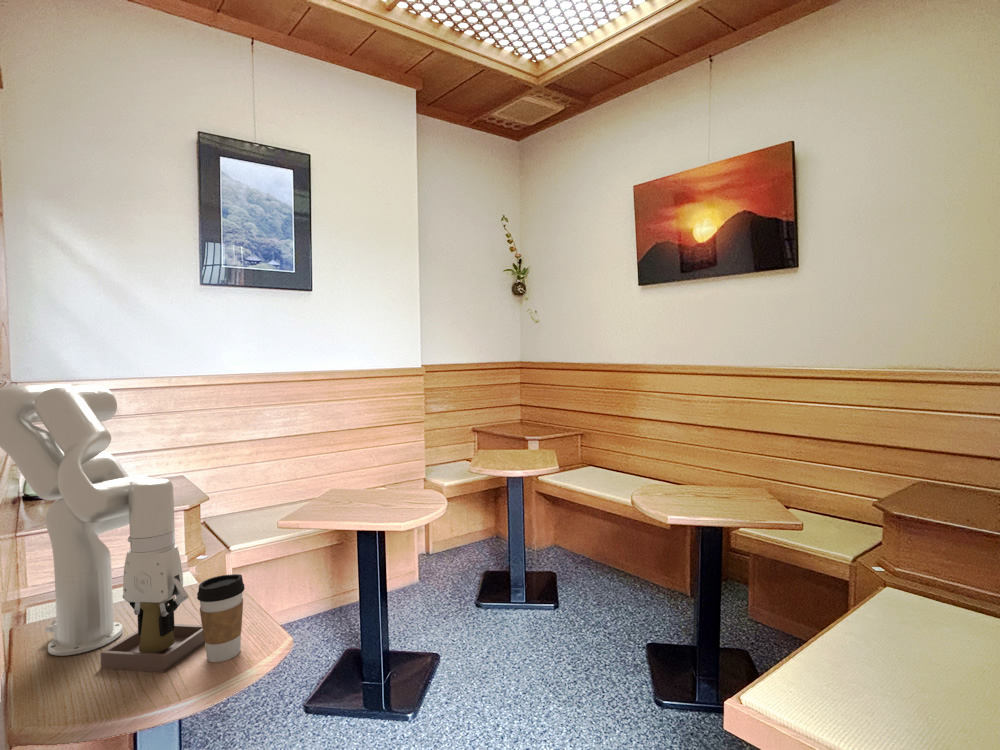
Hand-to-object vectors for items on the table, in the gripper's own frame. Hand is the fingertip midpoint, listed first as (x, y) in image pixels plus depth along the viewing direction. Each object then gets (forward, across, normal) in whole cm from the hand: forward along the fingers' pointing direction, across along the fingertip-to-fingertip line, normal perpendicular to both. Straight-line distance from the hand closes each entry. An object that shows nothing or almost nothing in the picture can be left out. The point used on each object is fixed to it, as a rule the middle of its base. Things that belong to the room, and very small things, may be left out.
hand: (156, 631), depth 106 cm
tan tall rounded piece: (+3, 0, 0) cm, 3 cm away
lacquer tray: (+5, 0, 0) cm, 5 cm away
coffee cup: (+5, +14, +2) cm, 15 cm away
